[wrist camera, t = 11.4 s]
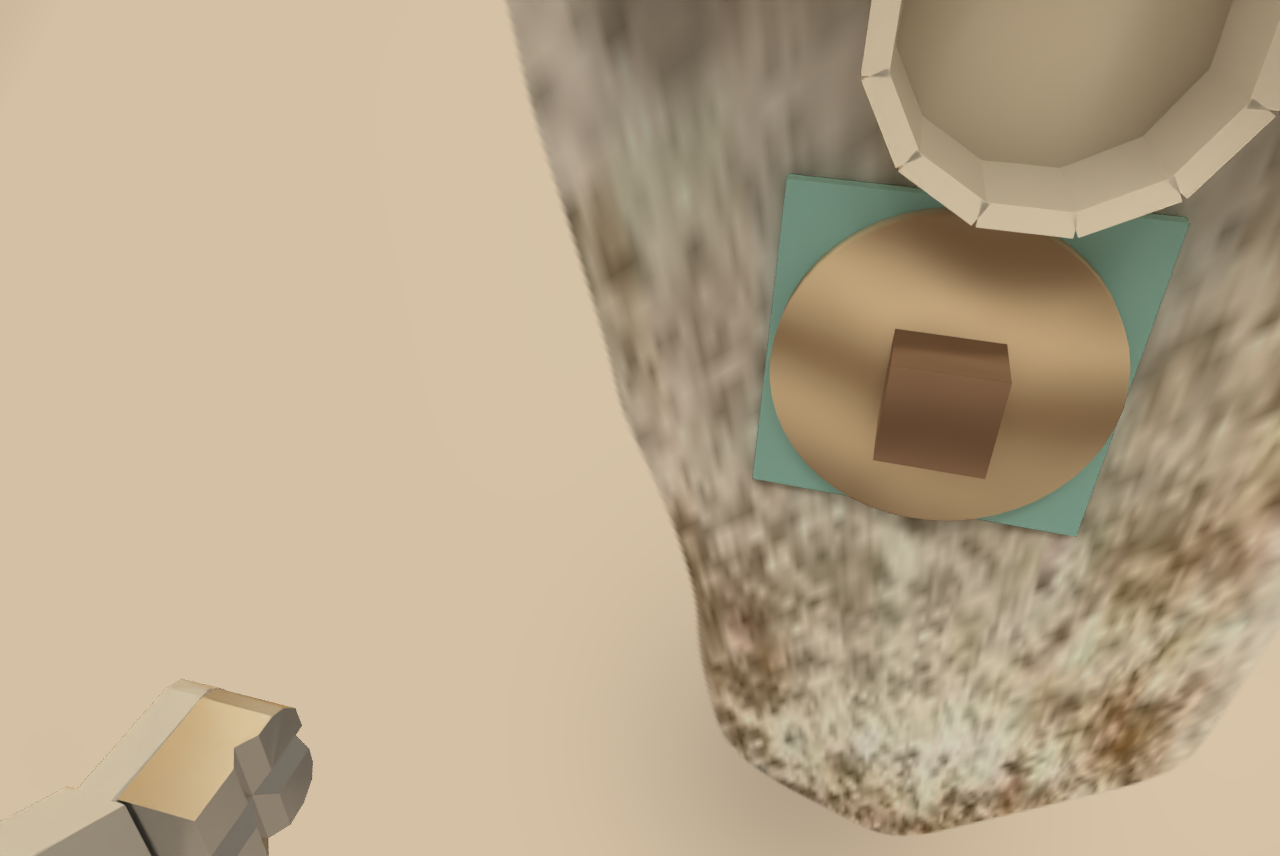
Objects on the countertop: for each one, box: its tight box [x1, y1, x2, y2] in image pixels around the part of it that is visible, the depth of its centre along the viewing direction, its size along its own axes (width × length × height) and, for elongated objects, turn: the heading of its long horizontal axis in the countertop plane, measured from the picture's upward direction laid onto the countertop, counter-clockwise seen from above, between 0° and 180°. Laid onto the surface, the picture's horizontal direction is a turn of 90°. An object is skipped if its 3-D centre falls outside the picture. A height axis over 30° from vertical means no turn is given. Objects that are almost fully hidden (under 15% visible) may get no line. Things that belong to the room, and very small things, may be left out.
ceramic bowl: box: [861, 0, 1280, 239], centre depth 27 cm, size 11×11×6 cm
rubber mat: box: [753, 174, 1190, 537], centre depth 37 cm, size 14×14×1 cm
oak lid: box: [770, 207, 1130, 521], centre depth 35 cm, size 13×13×4 cm
